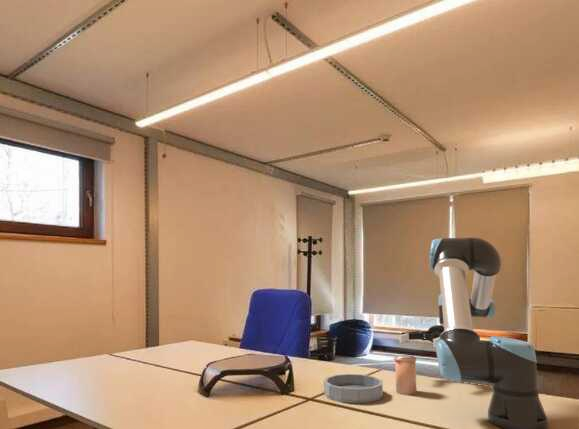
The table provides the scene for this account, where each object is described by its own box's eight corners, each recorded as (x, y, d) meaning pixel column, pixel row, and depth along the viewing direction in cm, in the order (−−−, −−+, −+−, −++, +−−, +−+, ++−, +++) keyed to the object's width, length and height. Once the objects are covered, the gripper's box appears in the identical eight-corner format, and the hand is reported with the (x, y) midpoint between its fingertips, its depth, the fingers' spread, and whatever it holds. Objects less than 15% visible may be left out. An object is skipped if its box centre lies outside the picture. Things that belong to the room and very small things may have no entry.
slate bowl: (381, 405, 137) (381, 390, 138) (320, 401, 142) (320, 386, 143) (383, 388, 156) (383, 375, 157) (329, 385, 161) (329, 372, 162)
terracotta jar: (418, 396, 147) (416, 359, 149) (395, 394, 149) (394, 358, 150) (417, 389, 154) (415, 354, 156) (395, 388, 156) (394, 353, 158)
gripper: (471, 347, 168) (450, 355, 152) (412, 339, 185) (387, 347, 169) (470, 327, 169) (448, 334, 153) (411, 322, 186) (386, 327, 170)
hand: (416, 341), depth 161 cm, fingers open, 13 cm apart
